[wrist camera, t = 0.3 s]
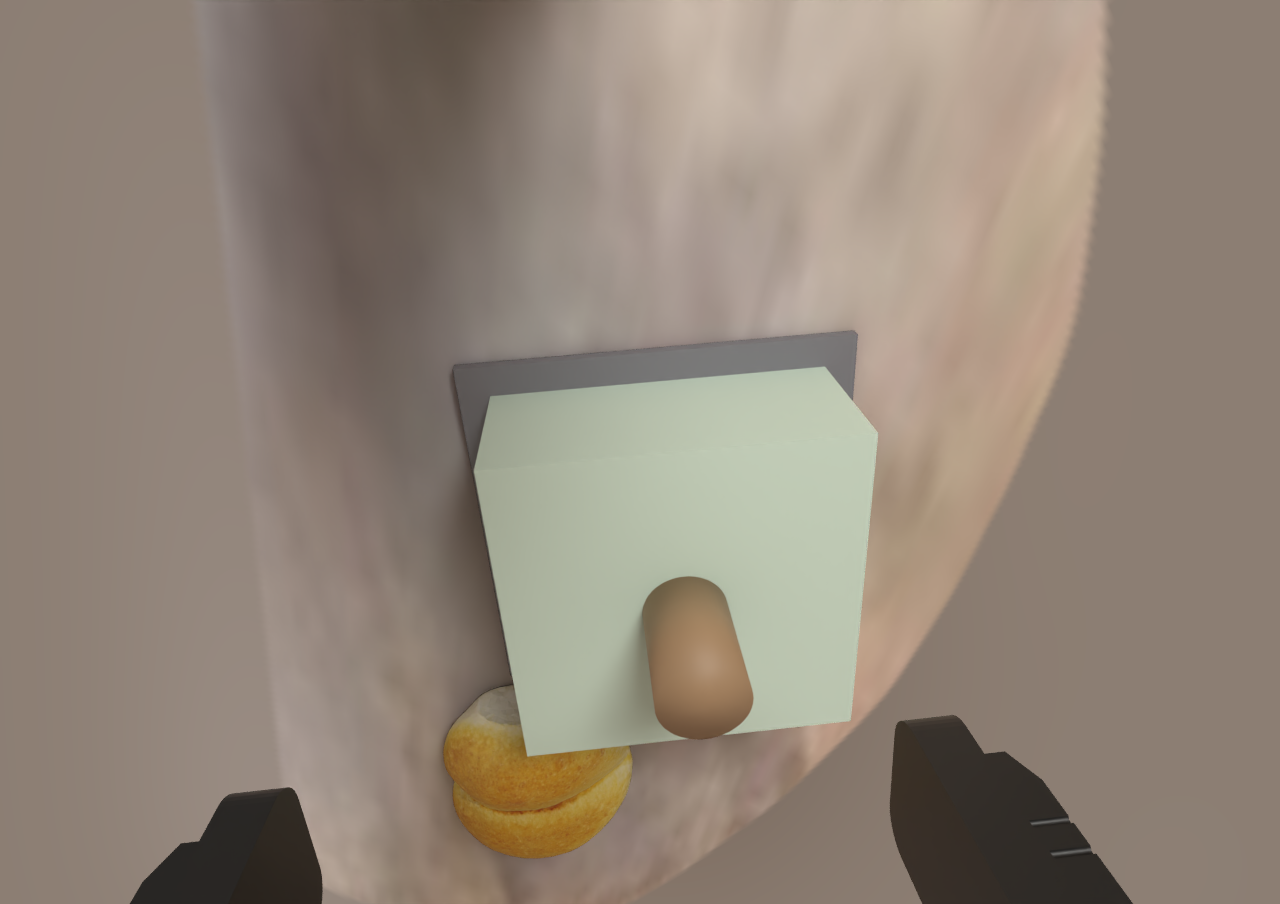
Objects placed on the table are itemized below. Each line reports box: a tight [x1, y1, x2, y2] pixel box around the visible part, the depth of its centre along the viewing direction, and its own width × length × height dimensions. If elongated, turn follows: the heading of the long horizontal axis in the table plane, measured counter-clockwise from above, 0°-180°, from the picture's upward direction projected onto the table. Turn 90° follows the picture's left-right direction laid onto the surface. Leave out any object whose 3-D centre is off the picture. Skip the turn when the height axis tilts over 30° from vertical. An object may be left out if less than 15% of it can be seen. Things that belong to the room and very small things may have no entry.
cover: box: [474, 367, 878, 756], centre depth 26 cm, size 12×12×9 cm
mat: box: [453, 331, 858, 676], centre depth 30 cm, size 14×14×1 cm
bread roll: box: [443, 685, 633, 858], centre depth 34 cm, size 8×9×4 cm
